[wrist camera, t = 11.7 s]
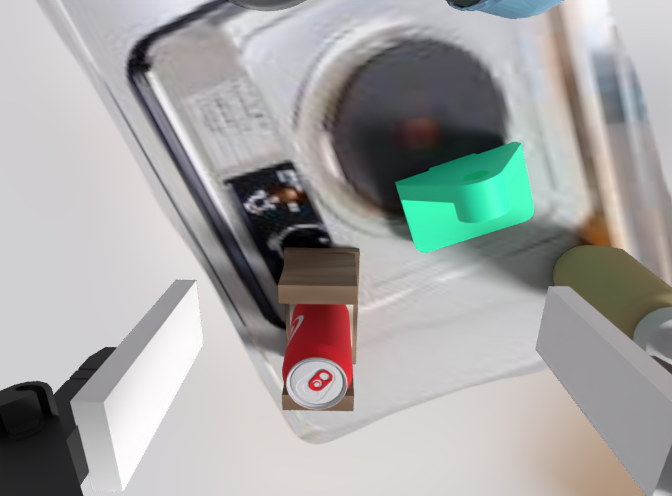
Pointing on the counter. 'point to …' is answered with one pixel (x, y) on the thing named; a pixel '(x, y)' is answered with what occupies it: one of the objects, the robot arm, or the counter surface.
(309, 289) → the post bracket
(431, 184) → the camera mount
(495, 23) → the counter surface
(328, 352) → the beverage can
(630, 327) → the squeeze bottle
